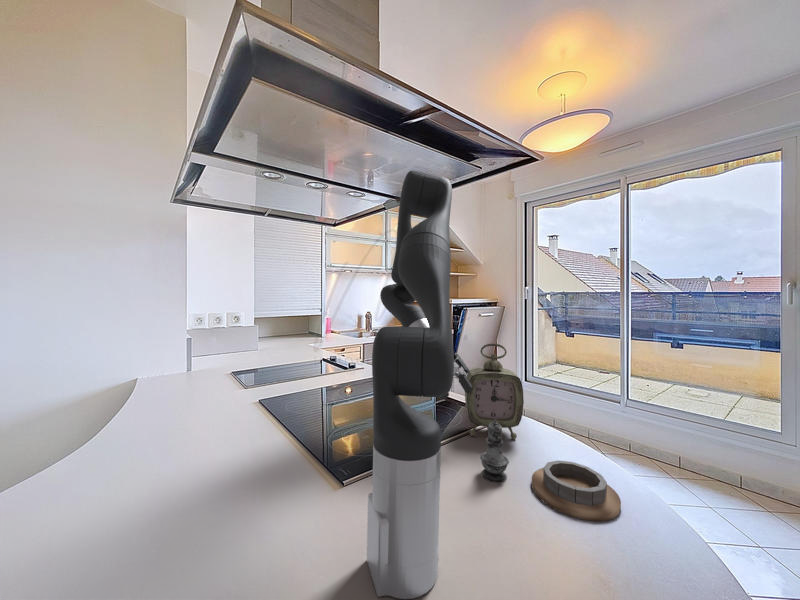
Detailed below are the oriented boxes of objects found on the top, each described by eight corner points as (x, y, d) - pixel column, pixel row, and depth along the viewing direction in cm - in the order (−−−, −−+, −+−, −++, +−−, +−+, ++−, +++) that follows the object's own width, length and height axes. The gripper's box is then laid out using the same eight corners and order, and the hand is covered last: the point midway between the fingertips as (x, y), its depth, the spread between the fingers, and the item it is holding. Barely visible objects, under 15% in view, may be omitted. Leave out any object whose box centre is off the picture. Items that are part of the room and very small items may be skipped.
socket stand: (576, 529, 52) (577, 506, 52) (515, 479, 66) (515, 461, 66) (640, 510, 57) (641, 490, 57) (570, 467, 71) (571, 451, 71)
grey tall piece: (477, 479, 66) (479, 421, 66) (481, 465, 71) (482, 412, 71) (507, 486, 64) (509, 426, 64) (509, 471, 69) (510, 416, 69)
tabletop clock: (466, 438, 85) (468, 344, 85) (463, 425, 94) (465, 340, 94) (522, 442, 83) (525, 347, 83) (514, 428, 92) (516, 342, 92)
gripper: (412, 332, 77) (446, 391, 69) (451, 329, 86) (486, 380, 78) (398, 351, 81) (428, 408, 73) (437, 346, 90) (468, 397, 82)
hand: (458, 394), depth 75 cm, fingers open, 8 cm apart
